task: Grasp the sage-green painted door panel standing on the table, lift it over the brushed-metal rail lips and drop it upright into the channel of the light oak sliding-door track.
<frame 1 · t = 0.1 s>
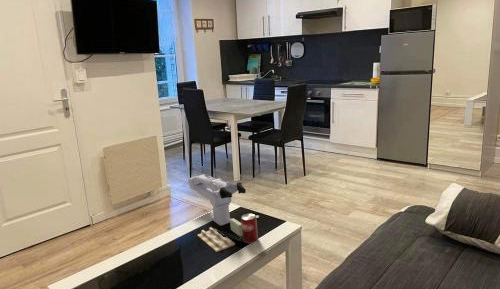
hand: (238, 193, 176), 22 cm above the table, tool horizontal, fingers open, 7 cm apart
soda can: (250, 240, 175), on the table
door panel: (237, 232, 183), on the table
door track: (215, 240, 177), on the table
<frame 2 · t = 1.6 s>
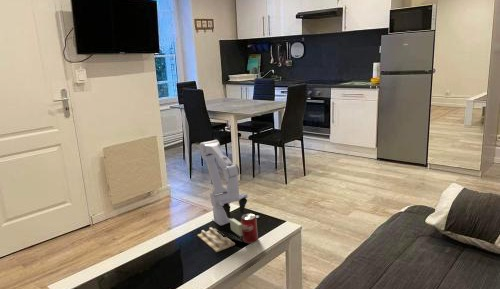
hand: (235, 215, 181), 9 cm above the table, tool pointing down, fingers open, 7 cm apart
nothing on the table moved.
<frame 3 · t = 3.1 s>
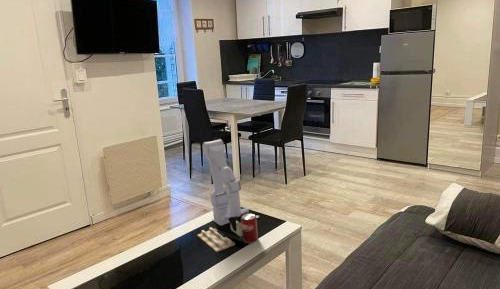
hand: (236, 229, 183), 2 cm above the table, tool pointing down, fingers closed on door panel, 2 cm apart
door panel: (237, 232, 183), on the table, touching gripper
everything else where it was.
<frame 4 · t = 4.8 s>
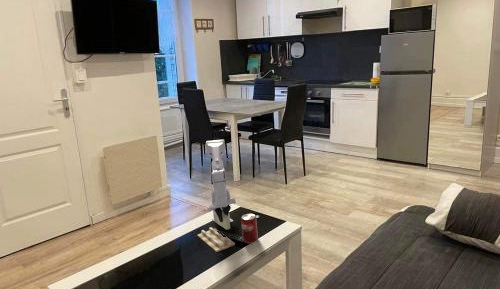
hand: (223, 220, 178), 9 cm above the table, tool pointing down, fingers closed on door panel
door panel: (223, 226, 178), point 6 cm above the table, touching gripper
everything else where it was.
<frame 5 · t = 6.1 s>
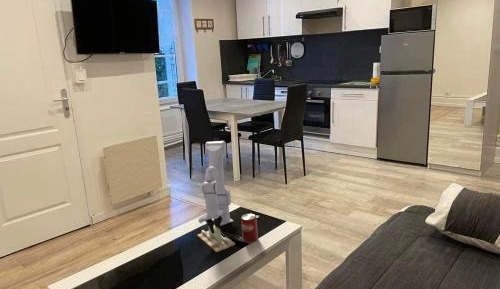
hand: (214, 232, 176), 4 cm above the table, tool pointing down, fingers closed on door panel, 2 cm apart
door panel: (215, 238, 177), point 1 cm above the table, touching door track, gripper
everything else where it was.
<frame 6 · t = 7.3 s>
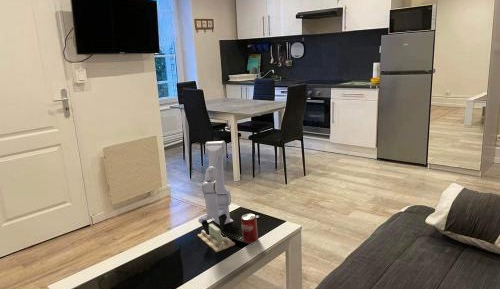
hand: (214, 232, 176), 4 cm above the table, tool pointing down, fingers open, 7 cm apart
door panel: (215, 238, 177), point 1 cm above the table, touching door track
everything else where it was.
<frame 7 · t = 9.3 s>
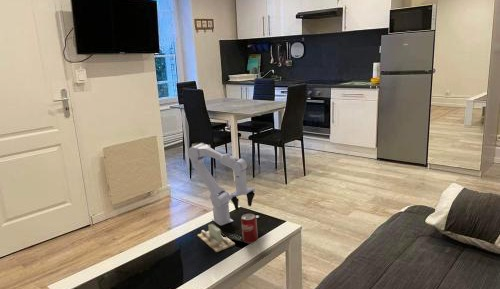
hand: (243, 207, 189), 9 cm above the table, tool pointing down, fingers open, 7 cm apart
nothing on the table moved.
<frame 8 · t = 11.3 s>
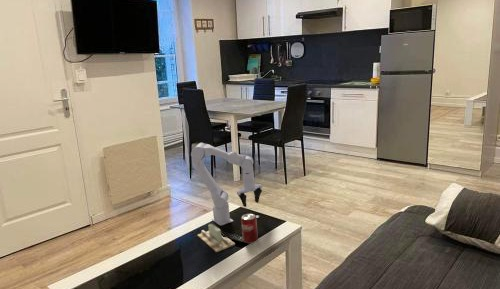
hand: (250, 204, 193), 9 cm above the table, tool pointing down, fingers open, 7 cm apart
nothing on the table moved.
at the end: door panel inside the target area on the door track (0.2 cm from its centre), point 0.8 cm above the door track's base; door panel tilted 0°; the gripper is holding nothing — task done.
